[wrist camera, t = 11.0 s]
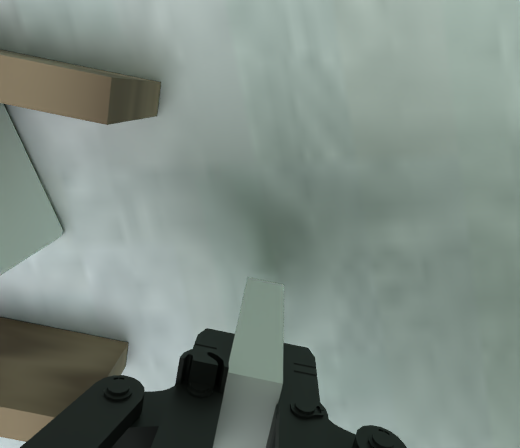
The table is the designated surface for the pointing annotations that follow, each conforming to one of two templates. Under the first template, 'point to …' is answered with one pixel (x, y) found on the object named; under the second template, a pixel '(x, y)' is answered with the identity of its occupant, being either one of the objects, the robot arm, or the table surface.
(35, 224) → the medicine bottle
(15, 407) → the box
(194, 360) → the robot arm
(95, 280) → the table surface
